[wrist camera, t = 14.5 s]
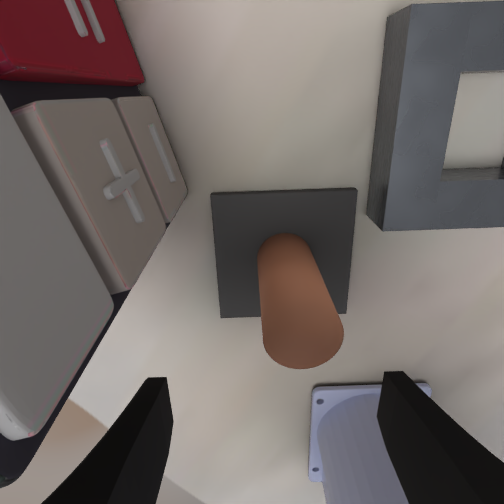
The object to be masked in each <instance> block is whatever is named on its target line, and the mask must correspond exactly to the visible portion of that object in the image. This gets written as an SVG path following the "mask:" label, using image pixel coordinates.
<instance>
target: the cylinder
mask: <svg viewBox="0 0 504 504" xmlns="http://www.w3.org/2000/svg"><path fill="white" fill-rule="evenodd" d="M257 265H258V279H259V293H260V306H261V320H262V333H263V344H264V347H265V350H266V352H267V353H268V355H269V356H270V357H271V358H272V359H273V360H274V361H275V362H277V363H279V364H281V365H283V366H285V367H288V368H293V369H308V368H313V367H316V366H319V365H321V364H323V363H325V362H327V361H328V360H330V359H331V358H332V357H333V356H334V355H335V354H336V353H337V352H338V350H339V349H340V347H341V345H342V342H343V337H344V330H343V325H342V323H341V320H340V318H339V316H338V313H337V311H336V309H335V306H334V304H333V302H332V299H331V297H330V295H329V292H328V290H327V288H326V285H325V283H324V280H323V278H322V276H321V273H320V271H319V269H318V266H317V264H316V262H315V259H314V257H313V255H312V252H311V250H310V248H309V246H308V244H307V243H306V242H305V241H304V240H303V239H302V238H301V237H299V236H297V235H295V234H291V233H280V234H276V235H273V236H271V237H270V238H268V239H267V240H266V241H265V242H264V243H263V244H262V245H261V247H260V249H259V251H258V255H257Z"/></svg>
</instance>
